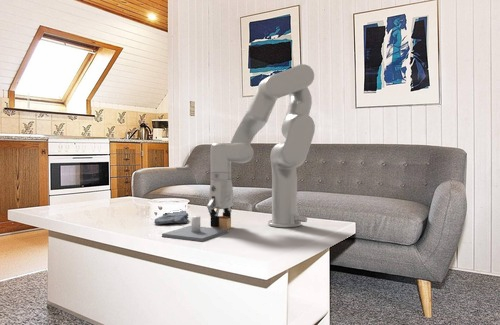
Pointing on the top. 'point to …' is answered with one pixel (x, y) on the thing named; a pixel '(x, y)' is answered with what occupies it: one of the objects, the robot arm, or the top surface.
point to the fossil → (172, 218)
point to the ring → (224, 222)
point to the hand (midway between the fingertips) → (220, 224)
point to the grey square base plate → (195, 231)
